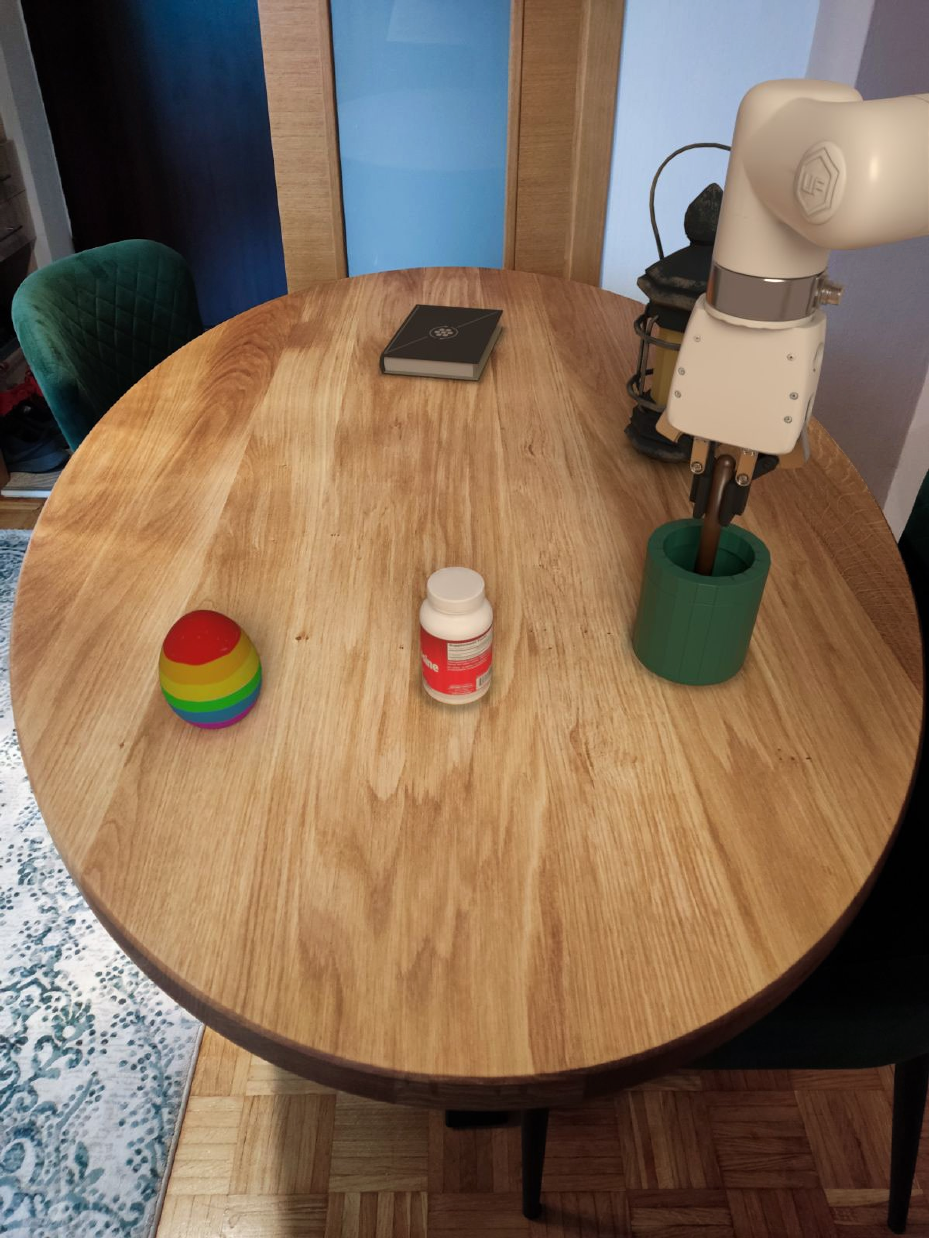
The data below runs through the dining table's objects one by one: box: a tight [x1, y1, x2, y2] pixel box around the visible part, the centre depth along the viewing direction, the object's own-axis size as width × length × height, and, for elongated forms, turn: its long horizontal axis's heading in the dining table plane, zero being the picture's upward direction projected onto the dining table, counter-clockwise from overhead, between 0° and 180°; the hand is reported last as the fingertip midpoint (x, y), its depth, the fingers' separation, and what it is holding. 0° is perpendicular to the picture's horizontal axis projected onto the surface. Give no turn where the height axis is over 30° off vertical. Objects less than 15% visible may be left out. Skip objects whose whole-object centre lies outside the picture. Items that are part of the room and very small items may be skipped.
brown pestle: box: [693, 452, 737, 577], centre depth 74 cm, size 4×4×16 cm
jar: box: [632, 517, 772, 687], centre depth 78 cm, size 10×10×11 cm
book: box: [378, 303, 504, 382], centre depth 136 cm, size 22×15×3 cm
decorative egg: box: [158, 609, 263, 730], centre depth 72 cm, size 8×8×10 cm
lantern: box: [623, 142, 731, 464], centre depth 101 cm, size 14×13×35 cm
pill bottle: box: [418, 566, 494, 705], centre depth 74 cm, size 6×6×11 cm
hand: (715, 513), depth 72 cm, fingers closed on brown pestle, 1 cm apart
